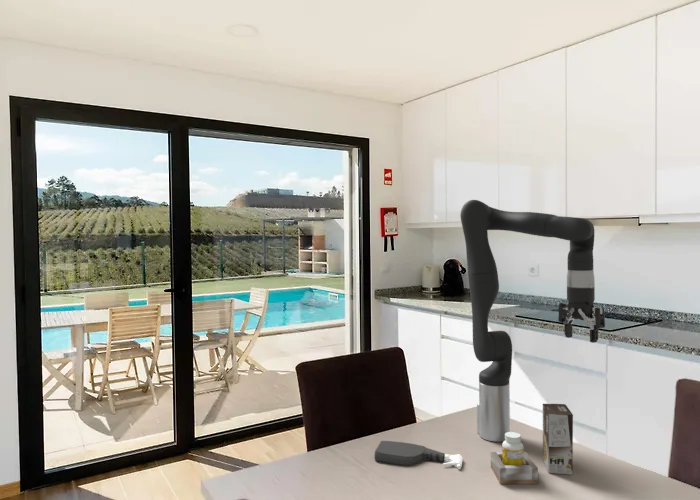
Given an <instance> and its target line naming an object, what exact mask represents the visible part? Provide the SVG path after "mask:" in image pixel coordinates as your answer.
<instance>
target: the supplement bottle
mask: <svg viewBox="0 0 700 500" xmlns="http://www.w3.org/2000/svg"><path fill="white" fill-rule="evenodd" d="M521 441H522V437H521V434H520V433H518V432H515V431H514V432H513V431H510V432H507V433H505V441H502V444H501V445H502V446H501V447H502V451H501V452H502V462H503V464H504V465H524V461H523V452H524V444H523V443H522V442H521Z"/></svg>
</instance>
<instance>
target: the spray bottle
mask: <svg viewBox="0 0 700 500" xmlns="http://www.w3.org/2000/svg"><path fill="white" fill-rule="evenodd" d="M463 458H464V457H463V456H462V455H461V454H460V453H458V454H449V453H444V452H442V451H438V450H435V449H431V448H428V447H426V446H425V445H421V444H420V445H419V444H416V443H408V442H403V441H402V442H401V441H393V440H381V441H380V442H379V444H378V445H377V447H376V448H375V451H374V460H375V461H377V462H379V463H384V464H385V463H386V464H391V465H398V466H413V465H417V464H419V463H421V462H424V461H429V462H430V461H431V462H432V461H433V462H439V463H442V466H453V467H455V468H456V469H458V470H461V469H462V467H463V460H464V459H463Z"/></svg>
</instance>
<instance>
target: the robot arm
mask: <svg viewBox="0 0 700 500" xmlns="http://www.w3.org/2000/svg"><path fill="white" fill-rule="evenodd" d="M459 216H460V222H461V226H462V230H463V231H462V232H463V235H464V242H465V249H466V250H465V251H466V254H465V255H466V263H467V264H466V265H467V266H466V267H467V277H468V278H467V279H468V286H469V287H468V288H469V294H470V295H469V296H470V302H471V304H470V305H471V314H472V317H471V318H472V346H473V347H472V348H473V353H474V355H475V358H476V359H477V360H478V361H479V362H480V363H486V362H487V363H488V362H492V363H491V364H489V366H488V367H485V368H484V369H483V370H481V371H480V372H479V373H478V391H479V392H478V394H479V395H478V399H479V400H478V403H477V404H476V414H477V415H476V419H477V420H476V422H477V423H476V424H477V426H476V427H477V428H476V431H477V434H478V435H479V437H480V438H482V439H484V440H486V441H489V442H494V443H495V442H496V443H497V442H504V441H505V433H507V432H511V431H510V430H511V426H510V424H511V421H510V420H511V419H510V418H511V415H510V413H511V412H510V411H511V410H510V409H511V408H510V395H511V394H510V393H511V392H510V379H511V375H512V365H513V364H512V361H513V343H512V340H511V336H510V334H509V333H508V332H507V331H505V330H492V331H491V330H490V331H489V326H488V325H489V316H490V315H489V314H490V311H491V309H492V307H493V305H494V303H495V301H496V299H497V298H498V297H497V296H498V295H499V291H500V283H499V274H498V267H497V263H496V259H495V257H494V254H493V252H492V249H491V246H490V243H489V234H488V231H506V232H507V231H508V232H515V233H521V234H526V235H530V236H531V235H532V236H537V237H544V238H557V239H560V240H565V241H569V251H568V253H567V273H566V274H567V275H566V300H567V301H568V302H566V301H564V302H559V304H558V320H557V321H558V322H559V323H562V324H563V326H564V331H563V332H564V335H565V338H567V339H570V338H572V337H573V323H574V321H575V320H580V321H584V323H586V324H587V325H588V326H589V342H590V343H597V342H598V340H599V330H600V329H603V328H605V327H606V320H605V318H606V317H605V308H604V307H603V306H599V307H596V306H594V302H595V300H596V299H595V298H596V297H595V295H596V292H595V291H596V289H595V273H594V245H595V226H594V224H593V223H592V222H591V220H589V219H588V218H584V217H573V216H561V215H560V216H559V215H556V214H550V213H542V212H533V211H507V210H502V209H498V208H495V207H491V206H489V205H488V204H486V203H485V202H483V201H481V200H479V199H478V200H477V199H471V200H468V201H466V202H465V203H464V204H463V205H462V207H461V210H460V215H459ZM568 311H569V312H568Z"/></svg>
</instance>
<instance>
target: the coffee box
mask: <svg viewBox="0 0 700 500" xmlns="http://www.w3.org/2000/svg"><path fill="white" fill-rule="evenodd" d="M573 433H574V414H573V412H572V411H571V410H570V408H569V407H568V405H566V404H565V403H542V460H543V462H544V464H545V467H546V469H547V472H548V473H549V474H559V475H570V476H573V473H574V472H573V469H574V468H573V463H574V461H573V457H574V456H573V455H574V451H573V449H574V447H573V446H574V443H573V442H574V441H573V440H574V435H573Z"/></svg>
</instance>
